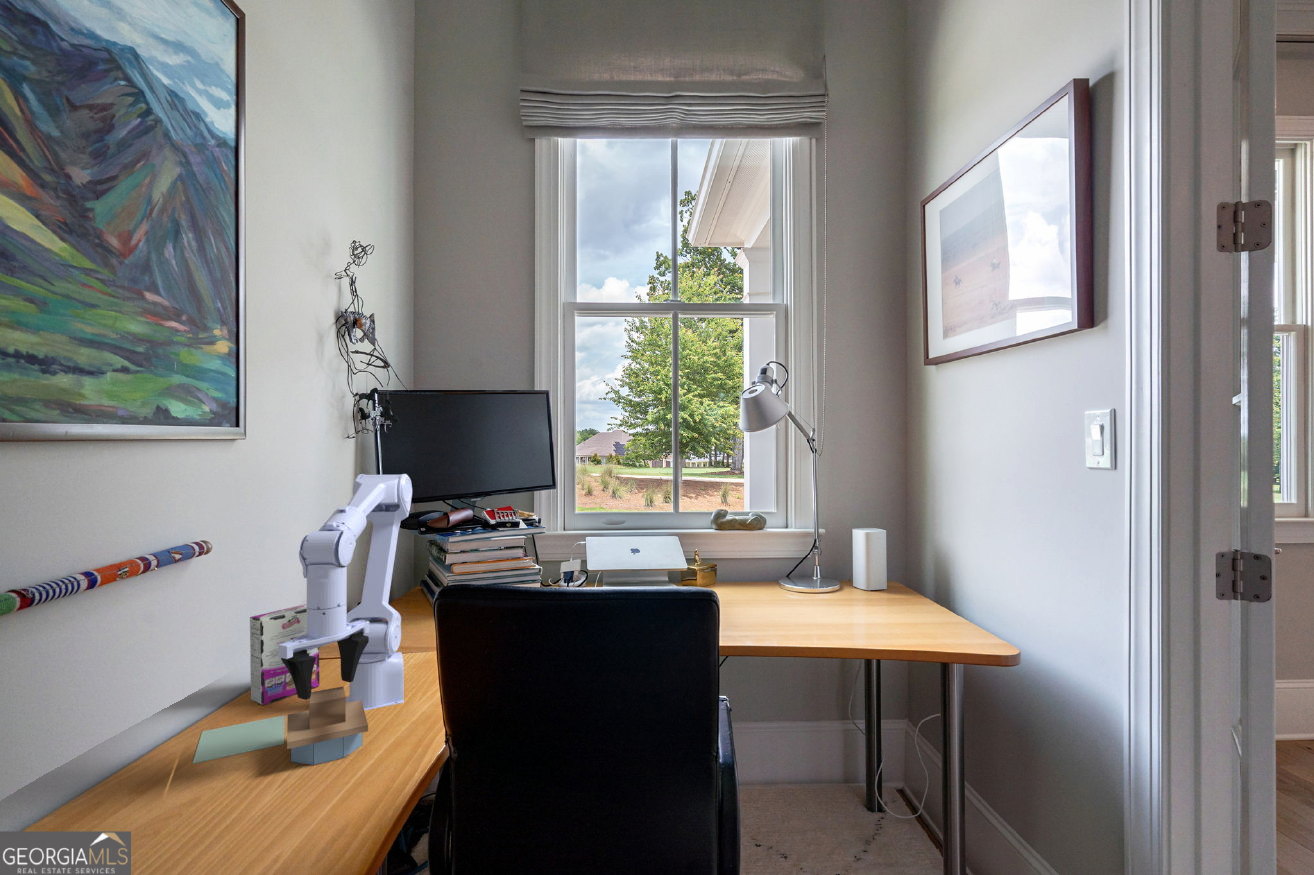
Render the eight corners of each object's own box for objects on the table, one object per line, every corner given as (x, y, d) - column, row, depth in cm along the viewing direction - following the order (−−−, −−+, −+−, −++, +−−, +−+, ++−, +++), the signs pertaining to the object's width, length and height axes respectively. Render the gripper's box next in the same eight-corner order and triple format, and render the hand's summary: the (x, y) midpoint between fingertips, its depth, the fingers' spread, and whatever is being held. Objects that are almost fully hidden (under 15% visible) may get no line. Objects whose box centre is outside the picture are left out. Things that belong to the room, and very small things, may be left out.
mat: (284, 718, 110) (284, 715, 110) (283, 747, 100) (283, 743, 100) (202, 735, 104) (202, 731, 104) (192, 767, 94) (192, 763, 94)
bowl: (358, 730, 106) (358, 707, 106) (364, 756, 97) (364, 730, 97) (290, 745, 101) (291, 721, 101) (290, 773, 92) (291, 747, 92)
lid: (361, 705, 106) (361, 677, 106) (368, 731, 97) (368, 699, 97) (287, 720, 101) (287, 690, 101) (287, 749, 91) (287, 715, 91)
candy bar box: (307, 681, 128) (307, 602, 128) (320, 686, 125) (320, 606, 125) (248, 700, 118) (248, 615, 118) (261, 706, 115) (261, 619, 116)
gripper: (349, 592, 107) (349, 670, 107) (266, 613, 94) (265, 701, 94) (378, 596, 104) (377, 676, 104) (295, 619, 91) (295, 710, 91)
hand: (326, 689), depth 99 cm, fingers open, 7 cm apart
